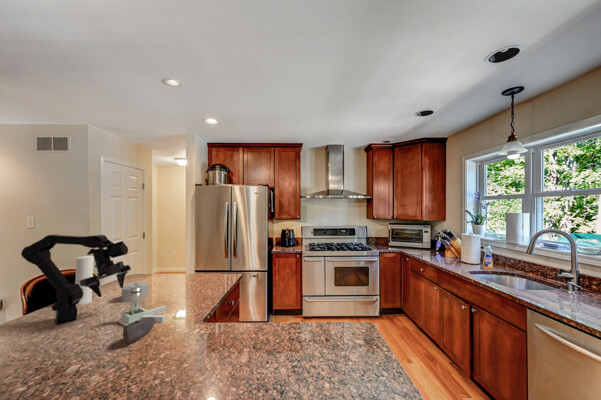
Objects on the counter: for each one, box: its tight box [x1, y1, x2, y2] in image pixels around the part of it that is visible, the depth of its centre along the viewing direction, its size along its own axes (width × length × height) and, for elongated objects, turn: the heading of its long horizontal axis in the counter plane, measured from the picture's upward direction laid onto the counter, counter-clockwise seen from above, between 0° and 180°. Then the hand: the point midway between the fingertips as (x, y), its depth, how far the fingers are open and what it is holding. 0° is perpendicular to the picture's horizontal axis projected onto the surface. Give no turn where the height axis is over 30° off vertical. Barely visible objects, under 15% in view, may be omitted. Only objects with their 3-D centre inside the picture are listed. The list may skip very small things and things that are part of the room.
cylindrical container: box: [74, 255, 95, 306], centre depth 134 cm, size 7×7×25 cm
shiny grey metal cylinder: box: [129, 286, 142, 316], centre depth 111 cm, size 4×4×14 cm
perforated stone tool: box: [122, 317, 156, 345], centre depth 96 cm, size 15×5×7 cm, turn 168°
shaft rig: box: [117, 305, 168, 327], centre depth 113 cm, size 19×18×4 cm
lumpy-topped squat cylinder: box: [120, 280, 149, 303], centre depth 140 cm, size 10×13×9 cm
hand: (111, 292), depth 115 cm, fingers open, 9 cm apart
